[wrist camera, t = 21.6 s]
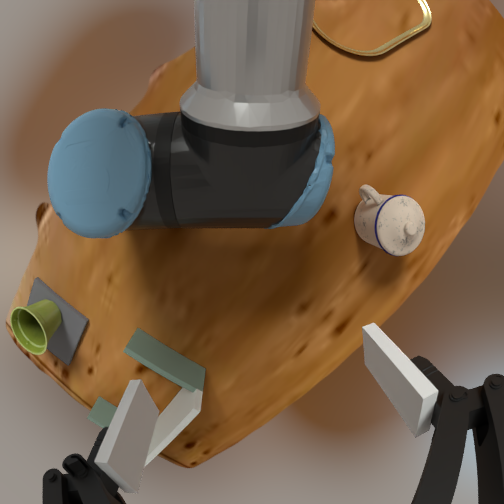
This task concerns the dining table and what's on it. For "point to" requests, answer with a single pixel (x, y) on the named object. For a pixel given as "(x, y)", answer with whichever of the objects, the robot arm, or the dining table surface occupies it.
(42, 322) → the plant pot
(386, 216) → the teacup with lid
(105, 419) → the grey-green angled panels
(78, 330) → the slate mat
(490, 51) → the dining table surface
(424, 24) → the brass wire loop
